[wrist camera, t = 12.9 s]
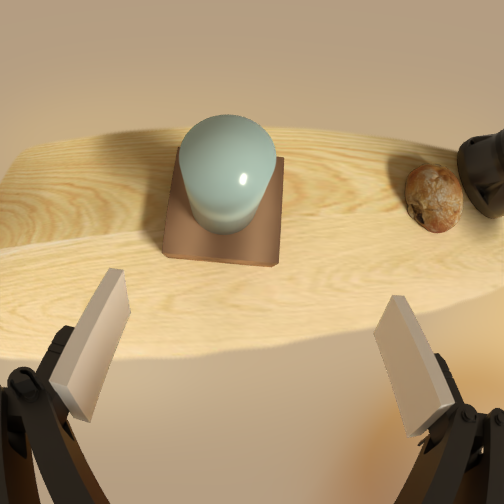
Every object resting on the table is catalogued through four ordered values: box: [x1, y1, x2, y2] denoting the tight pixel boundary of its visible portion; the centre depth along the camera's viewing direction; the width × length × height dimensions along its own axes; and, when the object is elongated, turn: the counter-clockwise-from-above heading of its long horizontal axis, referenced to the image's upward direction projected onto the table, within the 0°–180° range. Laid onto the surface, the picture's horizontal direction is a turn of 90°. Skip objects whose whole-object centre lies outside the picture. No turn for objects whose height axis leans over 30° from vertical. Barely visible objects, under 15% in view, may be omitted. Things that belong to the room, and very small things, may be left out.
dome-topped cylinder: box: [179, 115, 276, 235], centre depth 27 cm, size 7×7×11 cm
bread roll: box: [405, 164, 463, 233], centre depth 38 cm, size 10×10×8 cm
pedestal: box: [162, 147, 284, 267], centre depth 34 cm, size 12×12×4 cm
